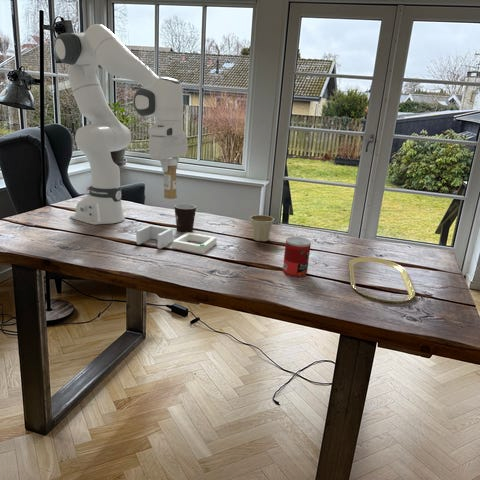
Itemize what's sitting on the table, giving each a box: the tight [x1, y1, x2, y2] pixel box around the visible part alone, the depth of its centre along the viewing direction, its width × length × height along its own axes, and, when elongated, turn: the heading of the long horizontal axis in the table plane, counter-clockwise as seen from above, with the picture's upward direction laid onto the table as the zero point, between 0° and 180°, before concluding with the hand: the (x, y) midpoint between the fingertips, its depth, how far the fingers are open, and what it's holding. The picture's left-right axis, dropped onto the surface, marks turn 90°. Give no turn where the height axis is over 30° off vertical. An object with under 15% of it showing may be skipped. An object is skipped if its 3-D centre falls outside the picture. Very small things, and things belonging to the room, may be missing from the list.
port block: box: [171, 232, 218, 254], centre depth 154 cm, size 12×12×3 cm
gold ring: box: [348, 256, 416, 304], centre depth 136 cm, size 19×35×2 cm, turn 168°
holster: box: [135, 224, 174, 249], centre depth 154 cm, size 10×9×5 cm
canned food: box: [282, 236, 312, 278], centre depth 135 cm, size 8×8×11 cm
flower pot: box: [249, 214, 275, 242], centre depth 166 cm, size 9×9×9 cm
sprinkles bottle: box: [163, 158, 178, 200], centre depth 147 cm, size 5×5×13 cm
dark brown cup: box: [173, 203, 197, 234], centre depth 171 cm, size 12×9×10 cm
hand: (170, 170), depth 146 cm, fingers closed on sprinkles bottle, 4 cm apart
